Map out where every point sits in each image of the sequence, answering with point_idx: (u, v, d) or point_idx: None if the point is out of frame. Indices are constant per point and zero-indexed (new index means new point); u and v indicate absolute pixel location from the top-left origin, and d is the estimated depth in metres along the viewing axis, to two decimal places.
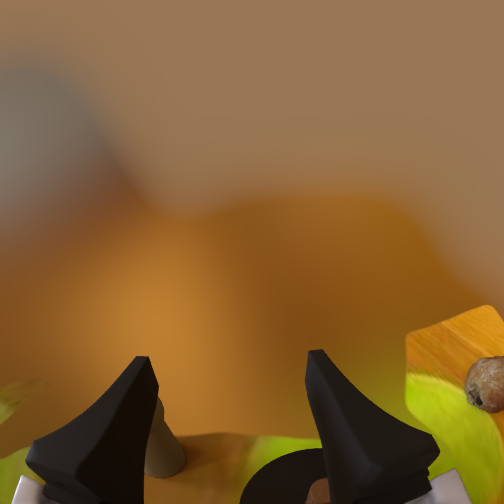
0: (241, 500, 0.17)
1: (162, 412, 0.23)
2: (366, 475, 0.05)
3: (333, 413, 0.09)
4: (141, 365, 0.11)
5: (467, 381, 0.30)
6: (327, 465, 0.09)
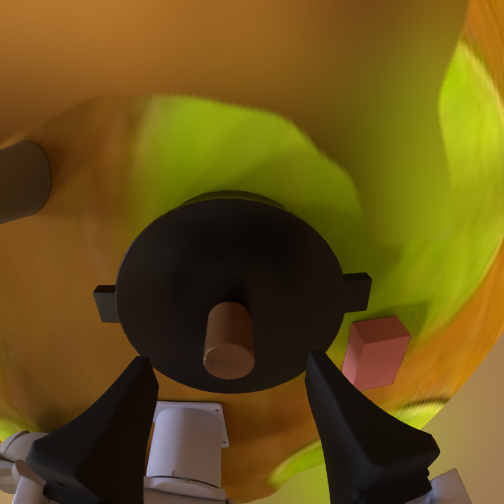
0: (117, 301, 0.15)
1: None
2: (366, 475, 0.05)
3: (333, 413, 0.09)
4: (141, 365, 0.11)
5: None
6: (327, 465, 0.09)
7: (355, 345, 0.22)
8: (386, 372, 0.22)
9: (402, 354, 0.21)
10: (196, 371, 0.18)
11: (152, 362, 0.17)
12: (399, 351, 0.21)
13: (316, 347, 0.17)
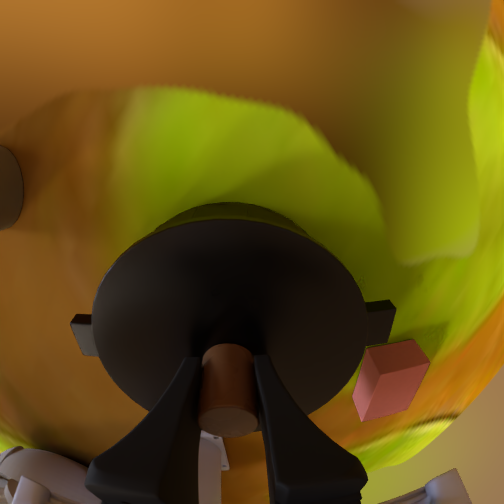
0: (95, 339, 0.12)
1: None
2: (278, 492, 0.05)
3: (265, 421, 0.09)
4: (194, 366, 0.11)
5: None
6: (267, 473, 0.09)
7: (369, 374, 0.19)
8: (401, 400, 0.19)
9: (419, 381, 0.18)
10: None
11: (140, 402, 0.14)
12: (416, 379, 0.18)
13: (329, 387, 0.14)
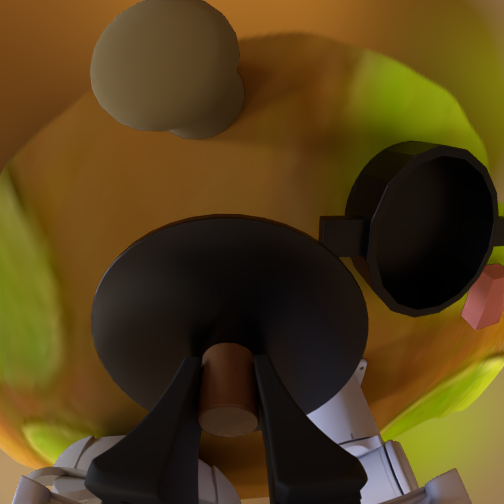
0: (95, 338, 0.12)
1: None
2: (278, 492, 0.05)
3: (265, 421, 0.09)
4: (194, 366, 0.11)
5: None
6: (267, 473, 0.09)
7: (481, 284, 0.22)
8: (498, 309, 0.22)
9: None
10: None
11: (140, 401, 0.14)
12: None
13: (330, 387, 0.14)
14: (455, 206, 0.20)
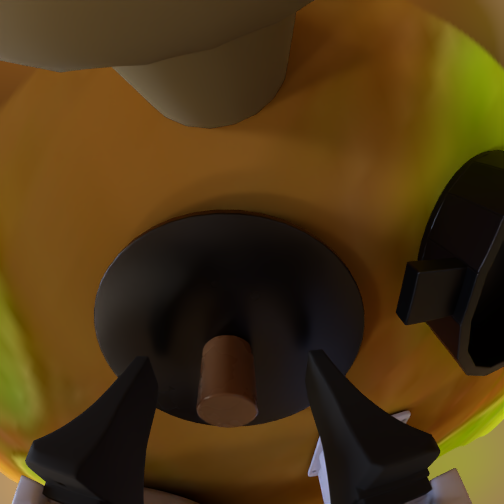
0: (98, 331, 0.12)
1: None
2: (366, 475, 0.05)
3: (333, 413, 0.09)
4: (141, 365, 0.11)
5: None
6: (327, 465, 0.09)
7: None
8: None
9: None
10: (191, 405, 0.15)
11: None
12: None
13: None
14: None
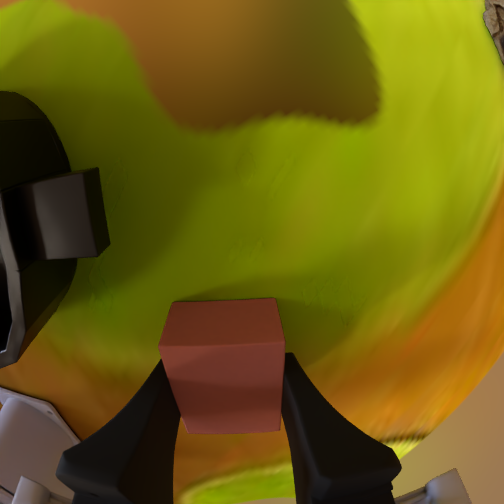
0: None
1: None
2: (318, 486, 0.05)
3: (295, 419, 0.09)
4: None
5: None
6: (294, 470, 0.09)
7: None
8: (251, 411, 0.11)
9: (277, 381, 0.10)
10: None
11: None
12: (264, 375, 0.10)
13: None
14: None
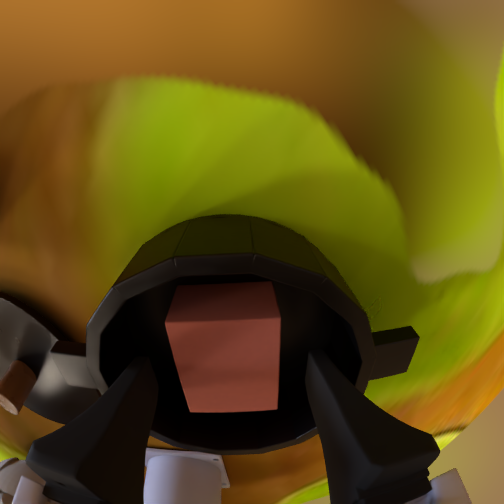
0: None
1: None
2: (367, 475, 0.05)
3: (333, 413, 0.09)
4: (141, 365, 0.11)
5: None
6: (327, 465, 0.09)
7: None
8: (250, 388, 0.12)
9: (273, 357, 0.12)
10: (29, 401, 0.17)
11: None
12: (262, 351, 0.11)
13: None
14: (314, 309, 0.14)
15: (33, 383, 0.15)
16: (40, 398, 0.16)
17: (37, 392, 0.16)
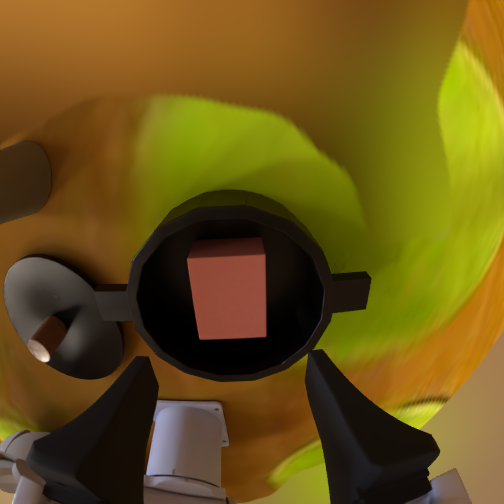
0: (7, 310, 0.20)
1: None
2: (366, 475, 0.05)
3: (333, 413, 0.09)
4: (141, 365, 0.11)
5: None
6: (327, 465, 0.09)
7: None
8: (245, 314, 0.18)
9: (261, 286, 0.17)
10: (54, 358, 0.22)
11: None
12: (253, 280, 0.17)
13: (113, 354, 0.22)
14: (292, 260, 0.20)
15: (64, 335, 0.20)
16: (66, 353, 0.22)
17: (64, 347, 0.22)
